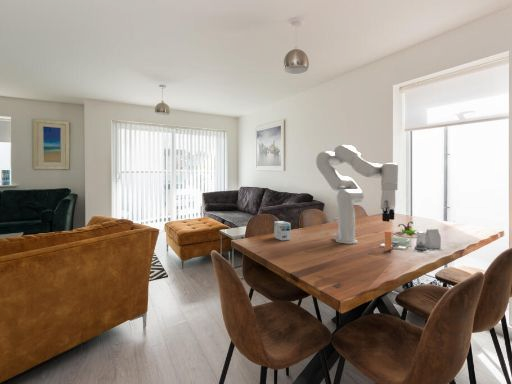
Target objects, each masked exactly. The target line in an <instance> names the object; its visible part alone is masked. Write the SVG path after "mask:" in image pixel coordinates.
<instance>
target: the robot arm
mask: <svg viewBox="0 0 512 384" xmlns="http://www.w3.org/2000/svg"><path fill="white" fill-rule="evenodd" d="M315 162H316V167H317V169H318V172H319V173H320V174H321V175H322V176H323V177H324V179H325V181H326V182H327V184H328V185H329V187H330V188H331V189H332V190H333V191H334V192H337V194H336V202H337V208H338V209H337V211H338V212H337V213H338V214H337V215H338V220H337V224H338V225H337V226H338V229H337V230H338V231H337V233H332V234H331V236H332V237H333V238H335V242H336V243H339V244H351V245H352V244H358V242H359V241H358V239H356V210H355V207H354V206H355V205H360V204H362V203H363V202H364V199H365V195H364V193H363V190H362V189H361V188H360V186H358V184H357V183H356V182H355V180H354V179H353V178H352V177H350V176H347V175H341V174H340V173H339V172H338V171H337V170H336V168H335V167H333V166H339V165H341V164H344V163H346V164H348V165H350V166H351V168H352V169H353V171H355V172H356V173H358V174H359V175H361V176H363V177H366V178H375V179H377V178H378V179H381V180H380V183H381V184H380V190H381V198H380V209H381V210H382V213H381V215H382V216H381V217H382V219H381V221H382V222H385V223H387V222H388V223H390V220H395V209H396V191H398V188H399V187H398V180H399V166H398V163H394V162H387V163H375V162H374V163H373V162H368V161H367V160H365V159H363V155H362V152H361V153H360V152H358V151H357V149H356V147H354V146H353V145H347V144H338V145H337V146H336V147H335V148H334V150H333V151H329V150H328V151H327V150H325V151H321V152H319V153H318V154H317V156H316V160H315Z"/></svg>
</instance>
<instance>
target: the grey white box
mask: <svg viewBox="0 0 512 384" xmlns="http://www.w3.org/2000/svg"><path fill="white" fill-rule="evenodd" d="M441 243H442V237H441V234H440V231H439V229H438V228H433V229H432V228H431V229H430V228H429V229H426V231H425V247H426V248H427V249H441V247H442V246H441V245H442V244H441Z"/></svg>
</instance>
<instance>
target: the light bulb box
mask: <svg viewBox="0 0 512 384" xmlns="http://www.w3.org/2000/svg"><path fill="white" fill-rule="evenodd" d="M273 225H274V226H273V229H274V230H273V232H274V233H273V234H274V235H273V236H274V237H275V238H274V237H273V238H274V239H277V240H280V241H291V235H292V234H291V233H292V231H291V222H288V221H284V220H278V221H274V222H273Z"/></svg>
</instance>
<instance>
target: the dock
mask: <svg viewBox="0 0 512 384" xmlns="http://www.w3.org/2000/svg"><path fill="white" fill-rule="evenodd" d="M392 243H393V244H395V245H394V246H393V247H392V250H393V249H395V250H400V251H405V250H407V249H408V248H409V247H410V245H411V238H402V237H398V236H395V237H394V236H393V242H392ZM379 246H380V247H381V248H385V237H384V238H383V243H381V244H380V245H379Z"/></svg>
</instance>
